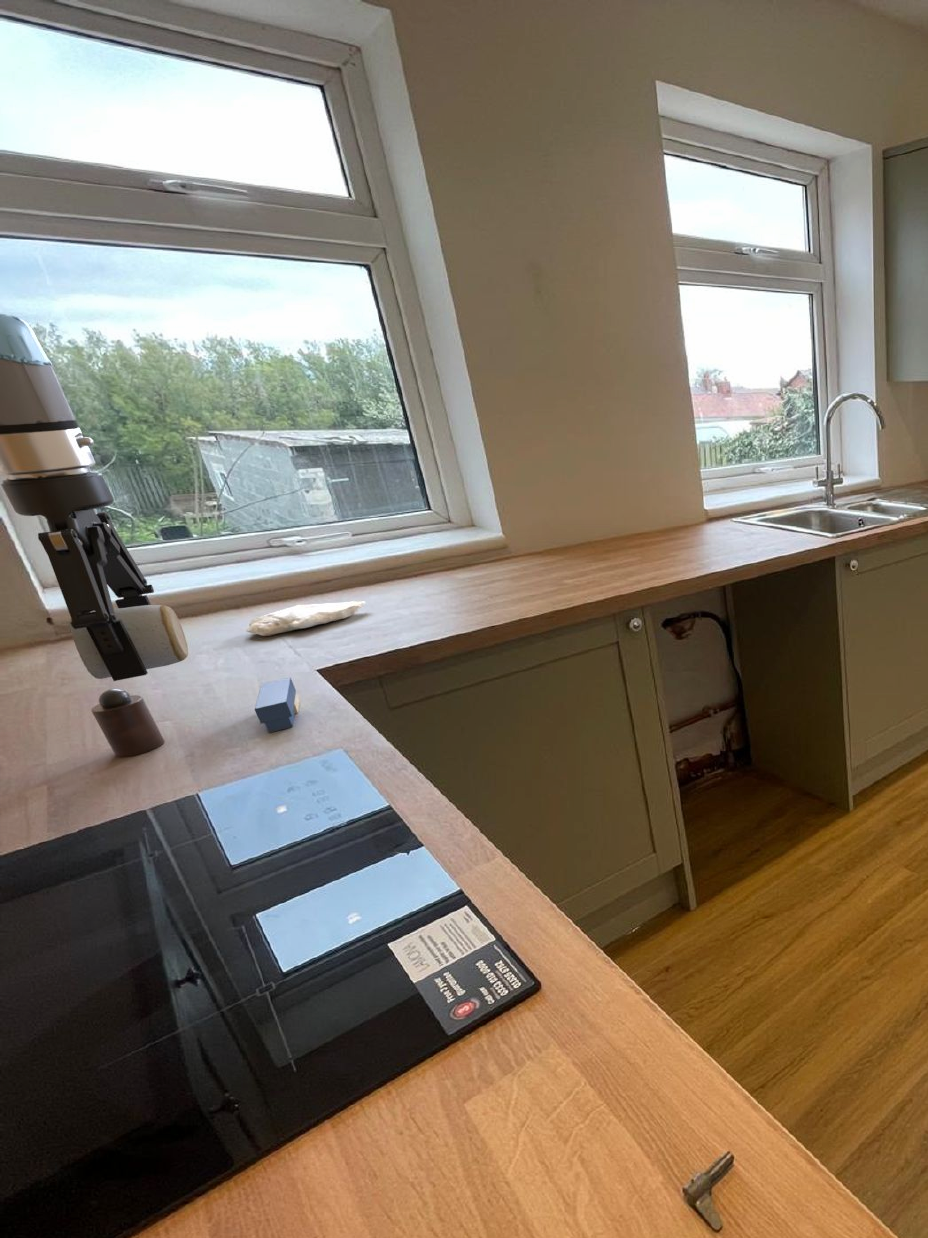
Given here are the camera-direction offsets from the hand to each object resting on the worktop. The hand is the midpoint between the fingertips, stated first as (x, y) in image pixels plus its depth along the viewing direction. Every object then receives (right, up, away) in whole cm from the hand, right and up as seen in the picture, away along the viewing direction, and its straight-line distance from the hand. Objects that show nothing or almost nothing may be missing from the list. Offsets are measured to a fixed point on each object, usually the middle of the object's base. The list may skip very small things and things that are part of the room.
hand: (143, 661), depth 86 cm
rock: (-29, +8, +61) cm, 68 cm away
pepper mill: (-15, -12, +14) cm, 24 cm away
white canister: (0, -1, 0) cm, 1 cm away
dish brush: (-1, -8, +22) cm, 23 cm away
